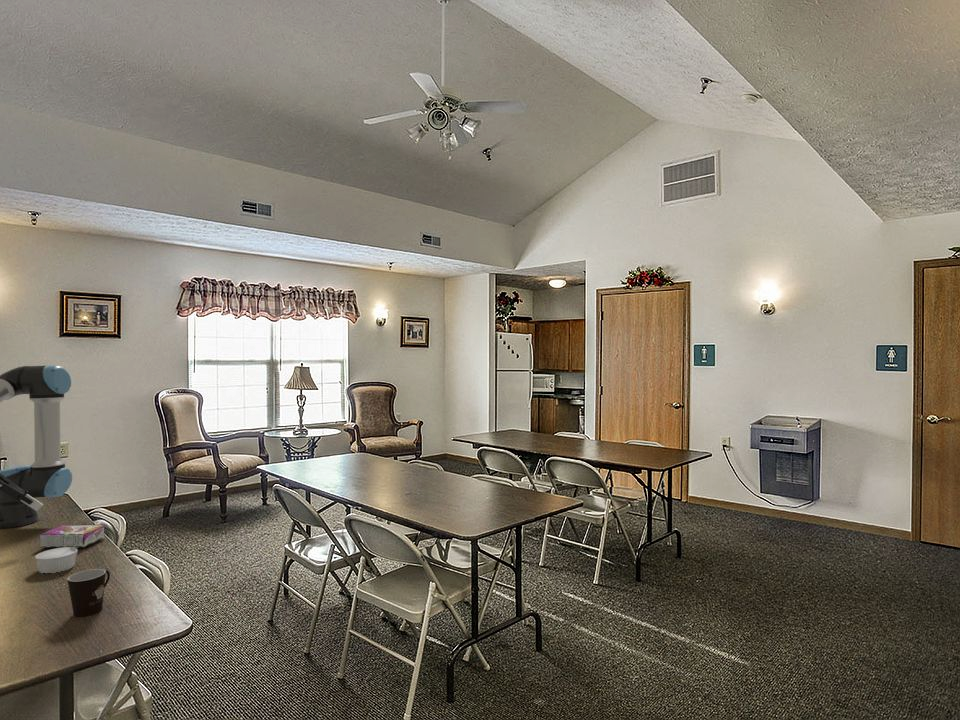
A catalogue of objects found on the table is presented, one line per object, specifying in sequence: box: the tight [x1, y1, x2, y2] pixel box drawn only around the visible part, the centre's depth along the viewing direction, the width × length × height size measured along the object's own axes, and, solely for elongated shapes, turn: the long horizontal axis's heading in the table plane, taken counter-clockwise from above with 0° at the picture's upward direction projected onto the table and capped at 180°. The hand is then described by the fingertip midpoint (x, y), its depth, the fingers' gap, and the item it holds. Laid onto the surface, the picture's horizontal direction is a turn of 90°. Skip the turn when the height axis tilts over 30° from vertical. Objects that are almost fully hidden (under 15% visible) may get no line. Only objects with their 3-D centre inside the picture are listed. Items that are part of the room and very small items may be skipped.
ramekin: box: [34, 547, 78, 575], centre depth 191 cm, size 11×11×5 cm
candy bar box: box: [39, 524, 105, 548], centre depth 215 cm, size 11×5×16 cm
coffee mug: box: [66, 568, 111, 618], centre depth 160 cm, size 12×9×10 cm
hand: (40, 507), depth 214 cm, fingers closed
